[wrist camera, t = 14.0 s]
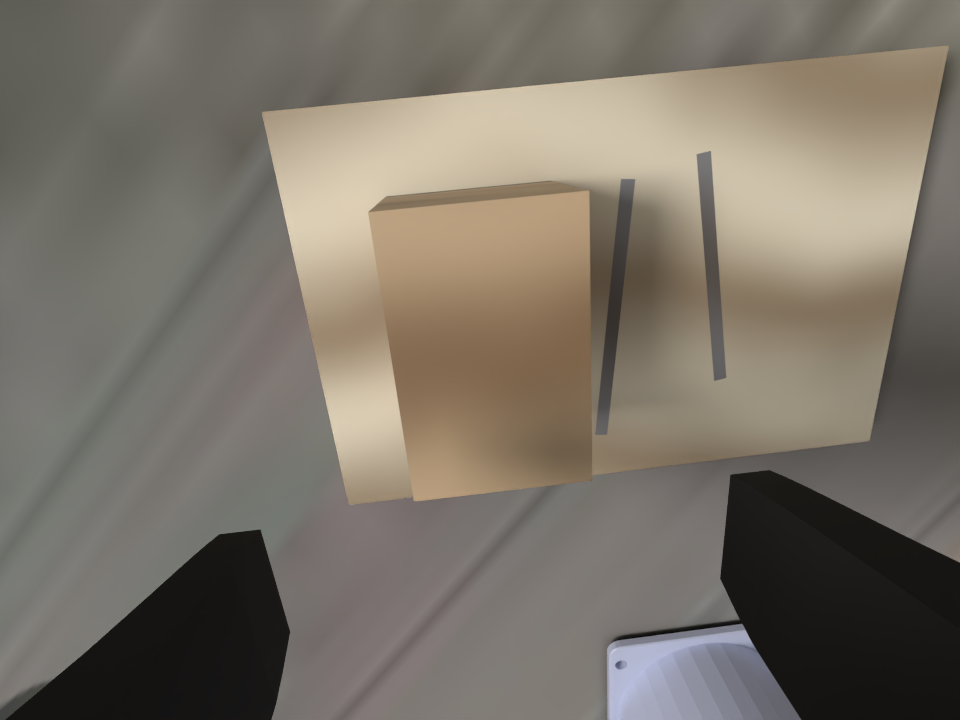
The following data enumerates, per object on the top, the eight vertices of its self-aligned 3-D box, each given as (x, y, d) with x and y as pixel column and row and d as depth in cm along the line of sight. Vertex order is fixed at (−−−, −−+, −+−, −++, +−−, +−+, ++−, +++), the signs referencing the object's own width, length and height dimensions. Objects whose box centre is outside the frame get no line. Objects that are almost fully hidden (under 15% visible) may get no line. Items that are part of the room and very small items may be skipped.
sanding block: (559, 409, 17) (592, 480, 13) (419, 424, 17) (414, 501, 13) (550, 180, 15) (589, 190, 11) (385, 196, 14) (367, 212, 11)
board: (845, 424, 20) (869, 441, 19) (353, 484, 19) (348, 504, 18) (911, 53, 15) (949, 45, 14) (275, 114, 15) (261, 112, 14)
